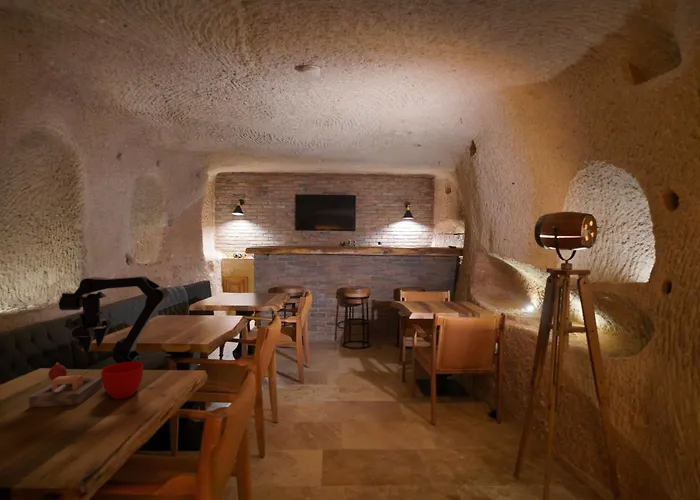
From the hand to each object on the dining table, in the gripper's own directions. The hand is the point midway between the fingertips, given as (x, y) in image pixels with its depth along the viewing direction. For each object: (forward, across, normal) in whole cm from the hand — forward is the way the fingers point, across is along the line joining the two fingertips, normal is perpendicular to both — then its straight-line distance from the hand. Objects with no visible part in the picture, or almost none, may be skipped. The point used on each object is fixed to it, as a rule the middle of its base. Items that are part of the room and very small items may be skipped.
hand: (93, 349), depth 156 cm
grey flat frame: (+12, +15, -2) cm, 20 cm away
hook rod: (+9, +15, -1) cm, 18 cm away
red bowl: (+13, +15, +18) cm, 27 cm away
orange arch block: (+11, +15, -2) cm, 19 cm away
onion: (+13, 0, -13) cm, 18 cm away
